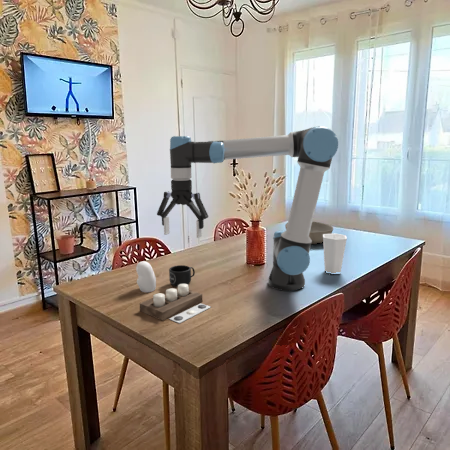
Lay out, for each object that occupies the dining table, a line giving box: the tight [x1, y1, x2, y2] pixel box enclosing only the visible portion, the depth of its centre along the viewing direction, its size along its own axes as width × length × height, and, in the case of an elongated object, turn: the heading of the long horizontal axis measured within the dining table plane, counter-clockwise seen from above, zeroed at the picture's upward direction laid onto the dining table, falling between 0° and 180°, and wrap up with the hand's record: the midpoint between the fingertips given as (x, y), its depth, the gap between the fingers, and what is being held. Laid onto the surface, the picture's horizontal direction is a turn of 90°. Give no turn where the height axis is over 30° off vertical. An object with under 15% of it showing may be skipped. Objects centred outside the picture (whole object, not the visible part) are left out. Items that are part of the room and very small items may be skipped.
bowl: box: [284, 220, 334, 245], centre depth 231 cm, size 28×28×10 cm
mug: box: [168, 264, 196, 288], centre depth 165 cm, size 12×9×7 cm
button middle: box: [165, 287, 177, 302], centre depth 143 cm, size 4×4×4 cm
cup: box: [322, 232, 348, 273], centre depth 177 cm, size 11×10×17 cm
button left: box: [152, 292, 165, 308], centre depth 138 cm, size 4×4×4 cm
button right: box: [177, 284, 190, 297], centre depth 147 cm, size 4×4×4 cm
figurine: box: [135, 260, 157, 293], centre depth 158 cm, size 7×8×12 cm
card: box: [168, 302, 212, 324], centre depth 138 cm, size 5×16×1 cm, turn 141°
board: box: [139, 287, 203, 321], centre depth 143 cm, size 12×20×3 cm, turn 141°
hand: (182, 235), depth 148 cm, fingers open, 13 cm apart
